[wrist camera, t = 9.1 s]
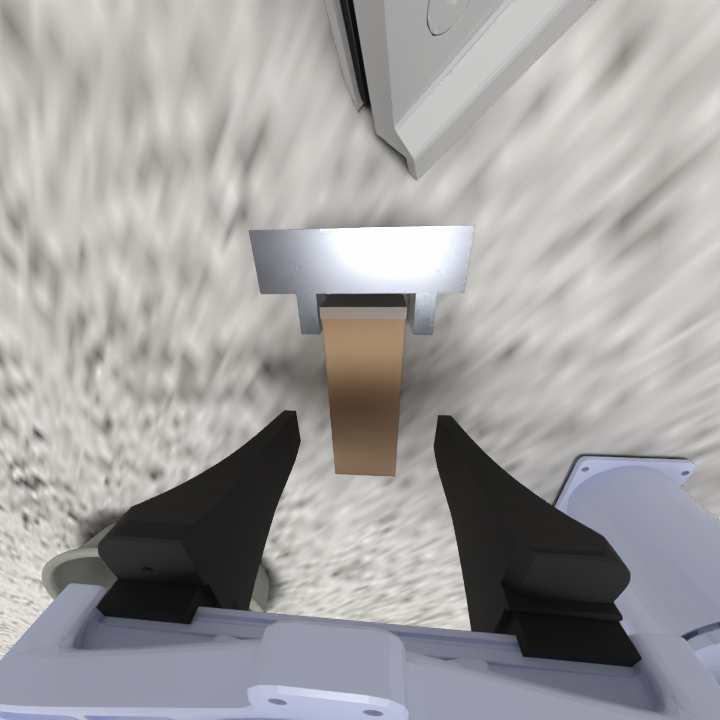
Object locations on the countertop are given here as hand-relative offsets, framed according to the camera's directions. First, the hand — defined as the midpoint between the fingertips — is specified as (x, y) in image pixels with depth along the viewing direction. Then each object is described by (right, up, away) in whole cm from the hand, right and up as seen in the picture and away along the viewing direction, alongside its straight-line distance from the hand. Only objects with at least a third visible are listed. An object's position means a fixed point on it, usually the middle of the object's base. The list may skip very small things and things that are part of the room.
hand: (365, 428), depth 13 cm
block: (0, +3, +4) cm, 5 cm away
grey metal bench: (0, +8, +2) cm, 8 cm away
